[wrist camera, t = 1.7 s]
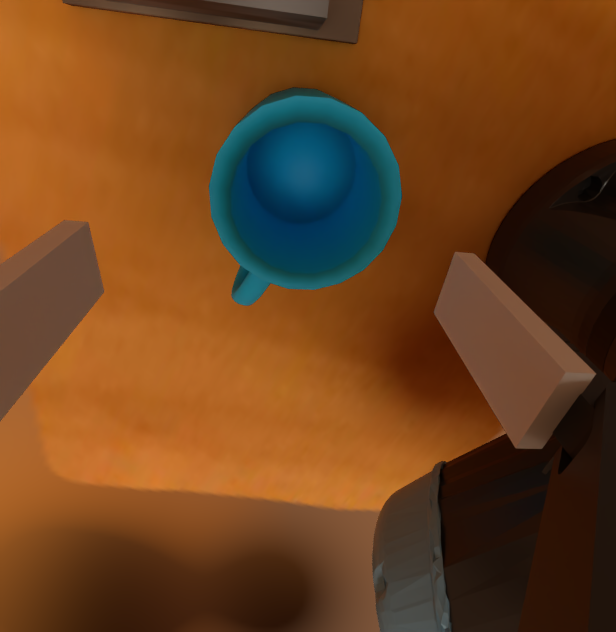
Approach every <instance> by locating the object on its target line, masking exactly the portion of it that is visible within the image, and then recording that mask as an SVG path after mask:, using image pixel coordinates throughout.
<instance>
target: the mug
mask: <svg viewBox="0 0 616 632" xmlns="http://www.w3.org/2000/svg"><path fill="white" fill-rule="evenodd" d="M209 193H210V205H211V217H212V219H213V222H214V224H215V226H216V229H217V231H218V234H219V236H220V239H221V241H222V243H223V245H224V246H225V247H226V249H227V250H228V251H229V252H230V253H231V255H232V256H233V257H234V258H235V259H236V261H237V262H238V263H239V264H240V268H239V270H238V273H237V275H236V278H235V281H234V284H233V288H232V294H231V295H232V298H233V300H234V301H235V302H237V303H238V304H241V305H247V306H248V305H251V304H253V303H254V302H255V301H256V300H258V299H259V298H260V297H261V295H262V294H263V293H264V291H265V290H266V289H267V287H268V286H269V285H270V283H272V284H275V285H278V286H281V287H284V288H287V289H311V290H315V289H319V288H323V287H327V286H331V285H335V284H339V283H342V282H343V281H345V280H347V279H349V278H350V277H352V276H354V275H356V274H357V273H359V272H361V271H363V270H364V269H365V268H366V267H367V266H368V265H369V264H370V263H371V262H372V261H373V260H374V259H375V258H376V257H377V256H378V255H379V254H380V253H381V252H382V251H383V249H384V247H385V245H386V244H387V242H388V240H389V238H390V236H391V234H392V232H393V231H394V229H395V227H396V224H397V219H398V214H399V209H400V204H401V199H402V191H401V182H400V173H399V165H398V163H397V161H396V159H395V157H394V154H393V152H392V150H391V148H390V146H389V144H388V142H387V139H386V137H385V136H384V135H383V134H382V133H381V132H380V131H379V130H378V129H377V128H376V127H375V126H374V125H373V124H372V123H371V122H370V121H369V120H368V119H367V118H366V116H365V115H364V114H363V113H362V112H360V111H358V110H356V109H354V108H353V107H351V106H349V105H347V104H346V103H344V102H342V101H340V100H339V99H337V98H334V97H332V96H330V95H328V94H326V93H324V92H322V91H319V90H317V89H308V88H294V87H293V88H290V89H287V90H283V91H280V92H277V93H273V94H271V95H269V96H268V97H267V98H265V99H264V100H263V101H261V102H260V103H259V104H258V105H256V106H255V107H254V108H252V109H251V110H250V111H249V112H248V113H247V115H246V116H245V117H244V118H243V119H242V120H241V121H240V122H239V123H238V124H237V125H236V126H235V127H234V129H233V130H232V132H231V133H230V135H229V136H228V138H227V139H226V141H225V142H224V144H223V146H222V147H221V149H220V150H219V152H218V153H217V155H216V159H215V163H214V167H213V172H212V176H211V180H210V184H209Z"/></svg>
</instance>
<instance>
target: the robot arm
mask: <svg viewBox="0 0 616 632" xmlns="http://www.w3.org/2000/svg"><path fill="white" fill-rule="evenodd" d="M103 293H104V289H103V284H102V280H101V276H100V271H99V267H98V263H97V258H96V254H95V250H94V245H93V241H92V237H91V232H90V228H89V224H88V222H80V221H68V220H64V221H62V222H61V223H60V224H58V225H57V226H55V227H54V228H52V229H51V230H50V231H48V232H47V233H45V234H44V235H42V236H41V237H39V238H38V239H37V240H35V241H34V242H32V243H31V244H29V245H28V246H26V247H25V248H24V249H22V250H21V251H19V252H18V253H16V254H15V255H14V256H12V257H11V258H9V259H8V260H6V261H5V262H3V263H2V264H1V265H0V421H1V420H2V418H3V417H4V416H5V415H6V414H7V412H8V411H9V410H10V409H11V407H12V406H13V405H14V404H15V402H16V401H17V400H18V399H19V397H20V396H21V395H22V394H23V392H24V391H25V390H26V389H27V387H28V386H29V385H30V384H31V382H32V381H33V380H34V379H35V377H36V376H37V375H38V374H39V373H40V371H41V370H42V369H43V368H44V366H45V365H46V364H47V363H48V361H49V360H50V359H51V358H52V356H53V355H54V354H55V353H56V351H57V350H58V349H59V348H60V346H61V345H62V344H63V343H64V341H65V340H66V339H67V338H68V336H69V335H70V334H71V333H72V331H73V330H74V329H75V328H76V326H77V325H78V324H79V323H80V321H81V320H82V319H83V318H84V317H85V315H86V314H87V313H88V312H89V310H90V309H91V308H92V307H93V305H94V304H95V303H96V302H97V300H98V299H99V298H100V297H101V295H102V294H103ZM434 314H435V316H436V318H437V319H438V321H439V323H440V324H441V326H442V328H443V329H444V331H445V333H446V334H447V336H448V338H449V339H450V341H451V342H452V344H453V346H454V347H455V349H456V351H457V352H458V354H459V356H460V357H461V359H462V361H463V362H464V364H465V366H466V367H467V369H468V371H469V372H470V374H471V376H472V377H473V379H474V381H475V382H476V384H477V385H478V387H479V389H480V390H481V392H482V394H483V395H484V397H485V399H486V400H487V402H488V404H489V405H490V407H491V409H492V410H493V412H494V414H495V415H496V417H497V419H498V420H499V422H500V424H501V425H502V427H503V428H504V430H505V432H506V434H504V435H502V436H500V437H498V438H496V439H494V440H492V441H490V442H488V443H486V444H484V445H482V446H480V447H478V448H476V449H474V450H472V451H470V452H468V453H466V454H464V455H462V456H460V457H458V458H456V459H454V460H451V461H449V462H445V461H441V462H439V463H437V464H435V466H434V468H433V470H432V471H431V472H429V473H428V474H426V475H424V476H422V477H420V478H419V479H417V480H415V481H413V482H412V483H410V484H408V485H406V486H405V487H403V488H401V489H399V490H398V491H396V492H395V493H394V494H392V495H391V496H390V498H389V499H388V500H387V501H386V502H385V504H384V506H383V508H382V510H381V512H380V514H379V517H378V520H377V524H376V528H375V533H374V543H373V555H372V559H373V560H372V562H373V563H372V566H373V581H374V588H375V597H376V611H377V616H378V622H379V627H380V632H616V140H612V141H608V142H605V143H602V144H599V145H597V146H594V147H592V148H589V149H587V150H585V151H583V152H581V153H579V154H577V155H575V156H573V157H571V158H570V159H568V160H566V161H565V162H563V163H561V164H560V165H558V166H557V167H555V168H554V169H553V170H551V171H550V172H549V173H547V174H546V175H545V176H543V177H542V178H541V179H540V180H539V181H538V182H536V183H535V184H534V185H533V186H532V187H531V188H530V189H529V190H528V191H527V192H526V193H525V194H524V195H523V196H522V197H521V198H520V200H519V201H518V202H517V203H516V204H515V205H514V207H513V208H512V209H511V211H510V212H509V213H508V215H507V216H506V218H505V219H504V221H503V222H502V224H501V226H500V227H499V229H498V231H497V233H496V235H495V237H494V239H493V242H492V244H491V247H490V250H489V253H488V256H487V260H486V265H485V264H484V263H483V262H482V261H481V260H480V259H479V258H478V257H477V256H476V255H475V254H474V253H464V252H455V253H454V256H453V259H452V261H451V264H450V267H449V270H448V273H447V276H446V278H445V281H444V284H443V287H442V290H441V293H440V295H439V298H438V301H437V304H436V307H435V310H434Z"/></svg>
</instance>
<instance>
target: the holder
mask: <svg viewBox="0 0 616 632" xmlns="http://www.w3.org/2000/svg"><path fill="white" fill-rule="evenodd" d="M63 3H65V4H68V5H72V6H80V7H87V8H94V9H102V10H109V11H116V12H124V13H131V14H138V15H146V16H153V17H160V18H167V19H175V20H182V21H189V22H197V23H204V24H211V25H219V26H226V27H233V28H241V29H248V30H255V31H263V32H270V33H277V34H285V35H292V36H299V37H307V38H314V39H321V40H329V41H336V42H343V43H351V44H356V43H357V39H358V32H359V25H360V18H361V11H362V4H363V0H63Z"/></svg>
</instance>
